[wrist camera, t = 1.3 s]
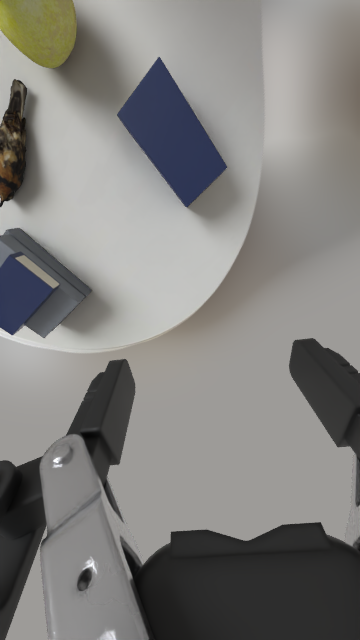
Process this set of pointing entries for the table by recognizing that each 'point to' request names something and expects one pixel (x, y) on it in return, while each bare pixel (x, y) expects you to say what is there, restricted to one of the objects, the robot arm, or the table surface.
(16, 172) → the bird model
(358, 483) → the robot arm
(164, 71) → the navy stack
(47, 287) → the navy book
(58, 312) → the grey stack
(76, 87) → the table surface
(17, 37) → the fruit
